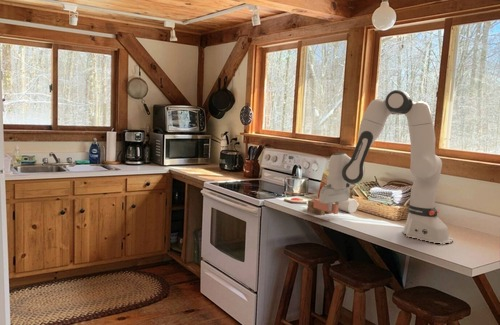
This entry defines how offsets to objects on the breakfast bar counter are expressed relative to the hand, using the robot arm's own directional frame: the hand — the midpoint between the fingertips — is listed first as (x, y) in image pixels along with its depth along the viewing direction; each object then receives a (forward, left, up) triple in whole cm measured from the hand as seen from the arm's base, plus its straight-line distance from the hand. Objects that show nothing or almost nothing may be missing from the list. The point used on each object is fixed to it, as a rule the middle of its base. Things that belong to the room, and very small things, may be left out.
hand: (332, 210), depth 230 cm
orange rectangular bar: (+5, 0, -1) cm, 5 cm away
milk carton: (+36, -38, -6) cm, 52 cm away
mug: (+10, -26, -6) cm, 28 cm away
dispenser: (+15, -7, -5) cm, 17 cm away
